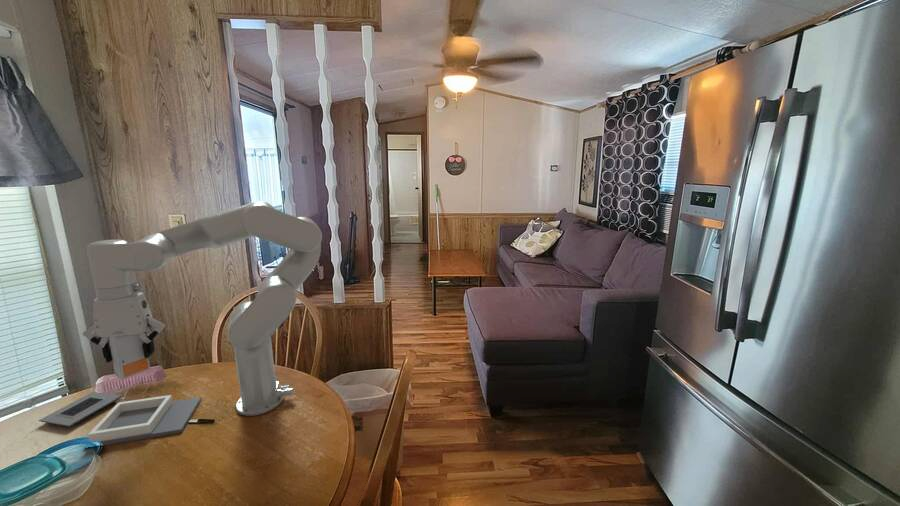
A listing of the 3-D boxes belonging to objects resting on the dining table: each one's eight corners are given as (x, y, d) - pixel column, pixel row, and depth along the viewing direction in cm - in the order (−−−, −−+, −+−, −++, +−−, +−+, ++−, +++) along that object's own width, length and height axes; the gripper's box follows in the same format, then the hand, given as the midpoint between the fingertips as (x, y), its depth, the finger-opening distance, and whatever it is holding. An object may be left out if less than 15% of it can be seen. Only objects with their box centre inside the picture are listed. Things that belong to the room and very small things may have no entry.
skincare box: (122, 380, 88) (112, 336, 85) (115, 375, 90) (105, 331, 87) (152, 369, 93) (143, 326, 90) (144, 364, 95) (136, 323, 92)
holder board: (201, 400, 109) (199, 390, 108) (182, 432, 96) (179, 420, 95) (117, 412, 103) (114, 402, 102) (84, 448, 90) (81, 436, 89)
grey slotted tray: (70, 432, 96) (68, 424, 95) (40, 426, 98) (38, 419, 97) (123, 401, 109) (121, 394, 108) (95, 397, 110) (93, 390, 110)
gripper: (166, 283, 93) (177, 346, 97) (81, 289, 87) (96, 355, 91) (153, 293, 86) (165, 360, 90) (60, 299, 80) (77, 370, 84)
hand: (130, 357), depth 91 cm, fingers closed on skincare box, 7 cm apart
